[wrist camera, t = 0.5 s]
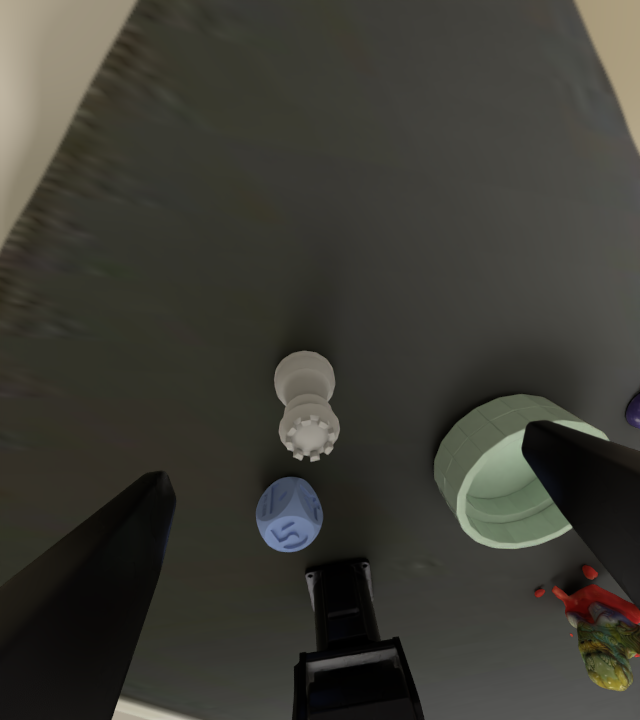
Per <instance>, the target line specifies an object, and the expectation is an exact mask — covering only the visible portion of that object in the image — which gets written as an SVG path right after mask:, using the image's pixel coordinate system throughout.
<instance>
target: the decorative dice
mask: <svg viewBox="0 0 640 720" xmlns="http://www.w3.org/2000/svg"><path fill="white" fill-rule="evenodd" d="M256 520H257V525H258V528H259V531H260V533H261V535H262V537H263V539H264V540H265V542H266V543H267V544H268V545H269V546H270V547H272V548H273V549H275V550H278V551H282V552H294V551H298V550H301V549H303V548H305V547H307V546H308V545H309V544H310V543H311V542H312V541H313V540H314V539H315V538H316V536H317V535H318V533H319V531H320V529H321V526H322V522H323V512H322V508H321V504H320V502H319V499H318V497H317V495H316V493H315V491H314V490H313V488H312V487H311V486H310V484H309V483H308V482H307V481H305V480H304V479H301V478H298V477H285V478H281V479H279V480H277V481H275V482H274V483H273V484H271V485H270V486H269V487H268V488H267V489H266V491H265V492H264V493H263V495H262V496H261V498H260V500H259V502H258V505H257V509H256Z"/></svg>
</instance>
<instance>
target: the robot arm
mask: <svg viewBox="0 0 640 720" xmlns="http://www.w3.org/2000/svg"><path fill="white" fill-rule="evenodd" d="M521 451H522V454H523V457H524V458H525V460H526V461H527V463H528V464H529V466H530V467H531V469H532V470H533V472H534V473H535V475H536V476H537V478H538V479H539V481H540V482H541V484H542V485H543V487H544V488H545V490H546V491H547V493H548V494H549V496H550V497H551V499H552V500H553V502H554V503H555V504H556V506H557V507H558V509H559V510H560V512H561V513H562V514H563V516H564V517H565V518H566V520H567V521H568V522H569V523H570V525H571V526H572V527H573V528H574V530H575V531H576V532H577V533H578V535H579V536H580V537H581V538H582V540H583V541H584V542H585V543H586V545H587V546H588V547H589V548H590V550H591V551H592V552H593V553H594V555H595V556H596V557H597V558H598V560H599V561H600V562H601V563H602V564H603V566H604V567H605V568H606V569H607V571H608V572H609V573H610V574H611V576H612V577H613V578H614V579H615V581H616V582H617V583H618V584H619V586H620V587H621V588H622V589H623V591H624V592H625V593H626V594H627V596H628V597H629V598H630V599H631V601H632V602H633V603H634V604H635V606H636V607H637V608H638V609H639V610H640V451H637V450H634V449H631V448H628V447H625V446H622V445H620V444H617V443H614V442H611V441H608V440H605V439H602V438H599V437H596V436H593V435H590V434H587V433H584V432H581V431H578V430H575V429H572V428H569V427H566V426H563V425H561V424H558V423H555V422H552V421H549V420H538V421H531V422H529V423H528V424H527V425H526V428H525V432H524V437H523V442H522V446H521ZM175 507H176V496H175V493H174V490H173V487H172V485H171V482H170V479H169V477H168V475H167V473H166V472H165V471H155V472H149V473H146V474H144V475H143V476H141V477H140V478H139V479H138V480H136V481H135V482H134V483H133V484H131V485H130V486H129V487H127V488H126V489H125V490H124V491H122V492H121V493H120V494H118V495H117V496H116V497H115V498H113V499H112V500H111V501H110V502H108V503H107V504H106V505H104V506H103V507H102V508H101V509H99V510H98V511H97V512H96V513H94V514H93V515H92V516H90V517H89V518H88V519H87V520H85V521H84V522H83V523H81V524H80V525H79V526H78V527H76V528H75V529H74V530H73V531H71V532H70V533H69V534H67V535H66V536H65V537H64V538H62V539H61V540H60V541H58V542H57V543H56V544H55V545H53V546H52V547H51V548H50V549H48V550H47V551H46V552H44V553H43V554H42V555H41V556H39V557H38V558H37V559H35V560H34V561H33V562H32V563H30V564H29V565H28V566H27V567H25V568H24V569H23V570H21V571H20V572H19V573H18V574H16V575H15V576H14V577H12V578H11V579H10V580H9V581H7V582H6V583H5V584H4V585H2V586H1V587H0V720H112V717H113V714H114V711H115V708H116V705H117V702H118V699H119V696H120V693H121V690H122V687H123V684H124V681H125V678H126V675H127V672H128V669H129V666H130V663H131V660H132V657H133V654H134V651H135V648H136V645H137V642H138V639H139V636H140V633H141V630H142V627H143V624H144V621H145V618H146V615H147V612H148V609H149V606H150V603H151V600H152V597H153V594H154V591H155V588H156V585H157V581H158V578H159V575H160V571H161V567H162V563H163V559H164V555H165V551H166V546H167V542H168V537H169V533H170V529H171V524H172V520H173V516H174V511H175ZM305 577H306V581H307V585H308V590H309V594H310V598H311V602H312V607H313V611H314V612H315V628H316V644H317V652H311V653H306V652H302V653H300V661H299V663H298V664H297V665H295V666H294V702H293V714H292V720H425V719H424V715H423V711H422V707H421V703H420V700H419V696H418V693H417V690H416V687H415V684H414V681H413V678H412V675H411V672H410V669H409V666H408V663H407V660H406V657H405V654H404V651H403V648H402V645H401V642H400V639H399V637H393V638H392V639H389V640H383V641H381V639H380V635H379V630H378V626H377V621H376V617H375V613H374V608H373V604H372V602H373V600H374V599H373V590H372V581H371V572H370V564H369V560H368V559H359V560H353V561H348V562H342V563H337V564H332V565H326V566H321V567H315V568H310V569H307V570H306V571H305Z"/></svg>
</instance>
